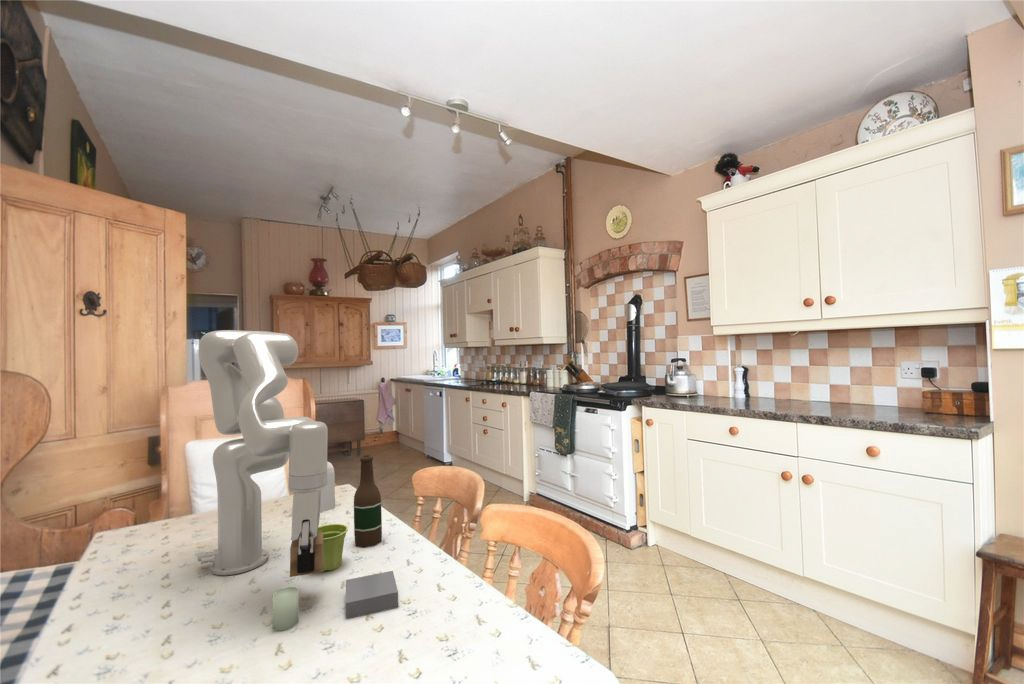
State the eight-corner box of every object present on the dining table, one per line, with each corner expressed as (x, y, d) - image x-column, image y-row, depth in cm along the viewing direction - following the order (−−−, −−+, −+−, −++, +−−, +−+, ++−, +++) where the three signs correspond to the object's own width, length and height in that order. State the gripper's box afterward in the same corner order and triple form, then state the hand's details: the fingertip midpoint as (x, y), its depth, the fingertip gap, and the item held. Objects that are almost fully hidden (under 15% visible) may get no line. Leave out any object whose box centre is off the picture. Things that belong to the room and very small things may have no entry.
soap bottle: (309, 518, 144) (307, 434, 145) (294, 514, 148) (293, 432, 149) (338, 508, 153) (336, 429, 154) (323, 504, 158) (322, 427, 159)
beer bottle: (377, 547, 120) (375, 458, 121) (349, 548, 120) (347, 459, 121) (386, 536, 127) (384, 452, 128) (359, 537, 128) (357, 453, 128)
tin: (271, 633, 83) (270, 601, 83) (274, 620, 87) (274, 589, 87) (297, 627, 84) (296, 595, 85) (299, 615, 89) (298, 585, 89)
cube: (289, 577, 91) (290, 547, 91) (293, 563, 96) (293, 536, 96) (321, 572, 93) (321, 543, 93) (322, 559, 99) (323, 532, 99)
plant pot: (356, 561, 112) (356, 526, 112) (327, 578, 103) (326, 541, 104) (329, 555, 116) (329, 521, 116) (298, 571, 107) (298, 535, 108)
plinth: (346, 618, 87) (346, 603, 87) (346, 593, 96) (345, 579, 96) (398, 606, 90) (398, 591, 91) (393, 584, 100) (392, 570, 100)
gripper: (293, 470, 102) (291, 549, 101) (283, 494, 85) (282, 588, 85) (328, 467, 104) (327, 544, 104) (325, 490, 88) (324, 581, 88)
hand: (307, 563), depth 95 cm, fingers closed on cube, 6 cm apart
